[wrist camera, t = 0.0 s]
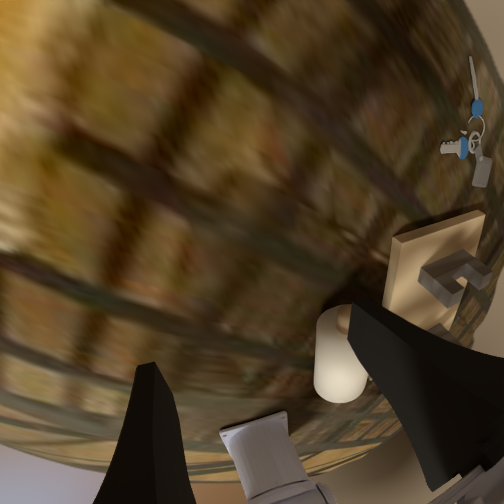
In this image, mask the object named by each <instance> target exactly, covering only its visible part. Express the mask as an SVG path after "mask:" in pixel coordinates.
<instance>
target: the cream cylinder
mask: <svg viewBox="0 0 504 504" xmlns="http://www.w3.org/2000/svg"><path fill="white" fill-rule="evenodd" d="M351 306H352V304H346V305H339V306H336V307H333V308H330V309H328V310H326V311H325V312H323V313H322V314H321V316H320V317H319V319H318V321H317V328H316V350H315V369H314V387H315V390H316V392H317V393H318V394H319V395H320V396H321V397H322V398H323V399H325V400H327V401H330V402H333V403H346V402H349V401H352V400H354V399H356V398H357V397H358V396H359V395H360V394H361V393H362V392H363V390H364V387H365V384H366V381H367V377H368V373H367V372H366V370H365V369H364V367H363V366H362V365H361V363H360V362H359V360H358V359H357V357H356V355H355V353H354V351H353V350H352V348H351V346H350V344H349V342H348V340H347V336H348V329H349V321H350V314H351Z"/></svg>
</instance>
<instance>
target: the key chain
mask: <svg viewBox="0 0 504 504" xmlns="http://www.w3.org/2000/svg"><path fill="white" fill-rule="evenodd" d="M469 60H470V67H471V68H470V69H471V74H472V80H473V88H474V94H475V100H474V101H473V102H472V114H473V116H472V117H471V118H470V120H471V119H472V118H473V117H475V118H481V119H482V121H483V123H484V120H483V118H482V117H481V115H482V112H483V103H482V101H481V99H479V98H478V90H477V85H476V76H475V72H474V66H473V61H472V56H469ZM470 120H469V121H470ZM484 130H485V123H484V129H483V133H484ZM461 132H462V133H464V134H466V133H467V131H461ZM483 133H482V135H481V137H482V136H483ZM474 134H477V135H478V138H479V139H477V140H472V137H473V135H474ZM481 137H480V134H479V133H478V132H477V131H473V132H472V133H471V135H470V137H469V142H468V141H467V139H466V138H465V137H460V138H459V140H458V141H455V142H452V141H450V144H449V142H447V144H445V142H443V144H441V147H440V150H441V153H457V155H458V156H459V157H458V158H460V159H464V158H466V156H467V154H468V150H470V152H471V153H472V154H473V153H475V156H476V161H477V164H476V168H475V172H474V177H473V181H472V185H473V186H477V187H484V188H485V187H486V186H487V182H488V178H489V174H490V170H491V165H492V159H491V158H488V157H485V156H483V154H482V147H481V145H480V144H481ZM478 140H479V144H478V145H477V146H476V148H475V149H474V142H473V141H478ZM471 142H472V143H473V148H471ZM468 145H469V147H468ZM473 149H474V150H473Z"/></svg>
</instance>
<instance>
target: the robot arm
mask: <svg viewBox="0 0 504 504" xmlns="http://www.w3.org/2000/svg"><path fill="white" fill-rule="evenodd" d="M347 340H348V342H349V344H350V346H351V348H352V350H353V351H354V353H355V355H356V357H357V359H358V360H359V362H360V363H361V365H362V366H363V367H364V369H365V370H366V372H367V373H368V374H369V376H370V377H371V378H372V380H373V381H374V382H375V384H376V385H377V387H378V388H379V389H380V391H381V392H382V393H383V395H384V396H385V397H386V399H387V400H388V402H389V403H390V405H391V406H392V408H393V409H394V411H395V413H396V415H397V417H398V418H399V420H400V422H401V424H402V426H403V428H404V430H405V432H406V434H407V436H408V438H409V440H410V442H411V444H412V446H413V448H414V451H415V453H416V455H417V458H418V460H419V463H420V465H421V468H422V471H423V473H424V476H425V479H426V483H427V485H428V487H429V488H430V490H431V491H432V492H433V491H435V490H436V489H438V488H439V487H441V486H442V485H443V484H445V483H447V482H448V481H449V480H451V479H452V478H454V477H455V476H456V475H457V474H460V475H461V477H462V479H460V480H459V481H458V482H457V483H455V484H454V485H453V486H452V487H450V488H449V489H448V490H446V491H445V492H444V493H442V494H441V495H439V496H438V497H437V498H435V499H434V500H432V501H431V502H429V503H428V504H454V503H455V502H457V504H504V358H501V357H496V356H492V355H488V354H484V353H480V352H477V351H474V350H471V349H468V348H465V347H462V346H460V345H457V344H455V343H452V342H449V341H447V340H445V339H443V338H440V337H438V336H436V335H434V334H432V333H430V332H428V331H426V330H424V329H422V328H420V327H418V326H416V325H414V324H413V323H411V322H409V321H407V320H405V319H404V318H402V317H400V316H398V315H397V314H395V313H393V312H391V311H390V310H388V309H386V308H385V307H383V306H381V305H379V304H378V303H376V302H374V301H372V300H371V299H369V298H367V297H364V298H361V299H358V300H356V301H353V302H352V306H351V314H350V321H349V329H348V336H347ZM219 434H220V436H221V438H222V440H223V442H224V444H225V446H226V448H227V450H228V452H229V453H230V455H231V457H232V459H233V460H234V463H235V466H236V469H237V472H238V475H239V478H240V480H241V483H242V486H243V489H244V492H245V494H246V497H247V501H246V503H247V504H338V502H337V500H336V498H335V496H334V494H333V493H332V492H331V490H330V488H329V487H327V485H324V484H322V483H317V484H315V483H314V481H313V479H310V480H309V478H308V476H307V474H306V472H305V469H304V467H303V465H302V463H301V461H300V459H299V457H298V455H297V452H296V450H295V448H294V446H293V444H292V442H291V439H290V437H289V435H288V420H287V413H286V411H282V412H279V413H276V414H273V415H270V416H267V417H264V418H261V419H257V420H254V421H251V422H248V423H244V424H241V425H237V426H234V427H230V428H227V429H223V430H221V431H220V432H219ZM93 504H196V501H195V498H194V494H193V491H192V488H191V485H190V481H189V477H188V472H187V467H186V461H185V455H184V449H183V442H182V436H181V429H180V422H179V417H178V413H177V409H176V405H175V401H174V397H173V394H172V392H171V390H170V388H169V387H168V385H167V383H166V381H165V380H164V378H163V376H162V374H161V372H160V370H159V368H158V367H157V365H156V363H155V362H151V363H147V364H142V365H138V366H137V368H136V372H135V377H134V382H133V387H132V391H131V396H130V400H129V404H128V408H127V412H126V416H125V419H124V423H123V427H122V430H121V433H120V436H119V440H118V443H117V446H116V449H115V452H114V455H113V458H112V461H111V463H110V466H109V468H108V471H107V473H106V476H105V478H104V480H103V483H102V485H101V487H100V490H99V492H98V494H97V496H96V498H95V500H94V502H93Z"/></svg>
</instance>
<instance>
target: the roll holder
mask: <svg viewBox="0 0 504 504" xmlns="http://www.w3.org/2000/svg"><path fill="white" fill-rule="evenodd" d="M484 219H485V214H484V213H483V212H481V211H479V210H475V211H472V212H469V213H466V214H463V215H459V216H456V217H453V218H450V219H447V220H444V221H441V222H438V223H435V224H432V225H428V226H425V227H422V228H419V229H416V230H413V231H409V232H406V233H403V234H400V235H397V236H393V239H392V246H391V253H390V260H389V266H388V273H387V279H386V284H385V290H384V295H383V300H382V306H383V307H385V308H386V309H388V310H390V311H391V312H393V313H395V314H397V315H398V316H400V317H402V318H404V319H405V320H407V321H409V322H411V323H413V324H414V325H416V326H418V327H420V328H422V329H424V330H426V331H428V332H430V333H432V334H434V335H436V336H438V337H440V338H443V339H445V340H447V341H449V342H452V343H455V344H457V345H460V346H462V345H461V344H460V342H459V341H458V340H457V339H456V338H455V337H454V336H453V335H452V334H451V333H450V332H449V329H450V327H451V324H452V322H453V319H454V317H455V314H456V311H457V309H458V306H459V303H460V301H461V298H462V295H463V292H464V289H465V286H466V283H467V281H468V282H470V283H471V284H472V285H473V286H474V287H476V288H477V289H478V290H480V289H482V288H484V287H485V286H487V285H488V284H489V281H490V279H491V276H492V273H493V271H492V270H491V269H490V268H488V267H487V266H486V265H484V264H483V263H482V262H480V261H479V260H478V259H476V258H475V254H476V251H477V247H478V243H479V240H480V236H481V232H482V228H483V223H484ZM368 378H369V380H370V381H371V380H372V378H371V377H370V376H369V374H368Z"/></svg>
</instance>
